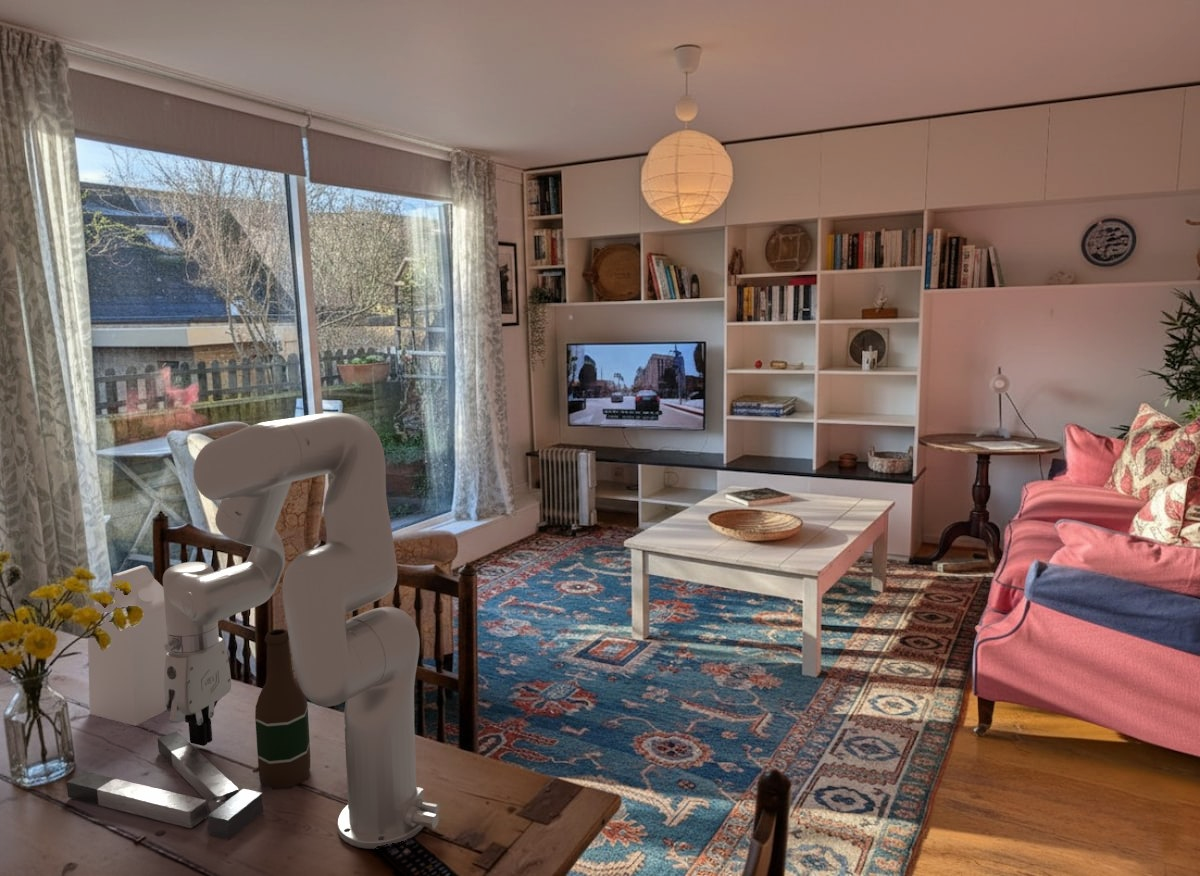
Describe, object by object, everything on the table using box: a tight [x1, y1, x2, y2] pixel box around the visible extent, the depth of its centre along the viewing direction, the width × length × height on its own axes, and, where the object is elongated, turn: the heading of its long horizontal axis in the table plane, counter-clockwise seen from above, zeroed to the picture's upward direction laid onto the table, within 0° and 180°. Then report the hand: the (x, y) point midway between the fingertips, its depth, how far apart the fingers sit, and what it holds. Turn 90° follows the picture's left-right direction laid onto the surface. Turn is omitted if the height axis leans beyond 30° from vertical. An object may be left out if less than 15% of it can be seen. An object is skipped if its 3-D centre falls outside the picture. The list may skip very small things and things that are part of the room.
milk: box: [87, 564, 168, 727], centre depth 150 cm, size 12×12×26 cm
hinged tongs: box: [66, 771, 264, 841], centre depth 121 cm, size 30×7×3 cm, turn 72°
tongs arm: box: [157, 730, 239, 815], centre depth 127 cm, size 26×5×2 cm, turn 47°
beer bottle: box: [254, 628, 311, 791], centre depth 127 cm, size 8×8×24 cm
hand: (201, 742), depth 137 cm, fingers closed
